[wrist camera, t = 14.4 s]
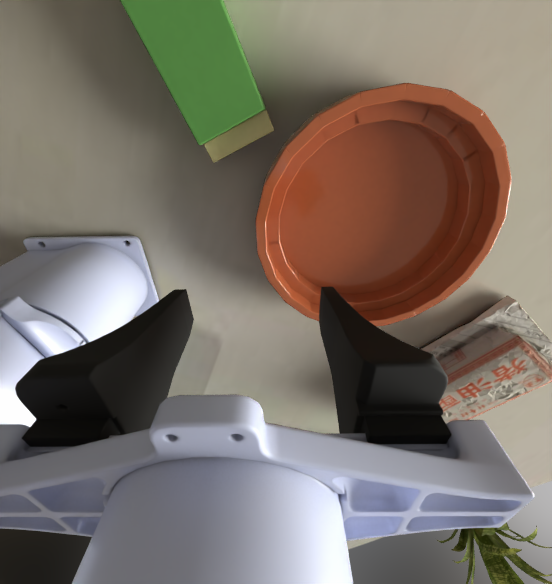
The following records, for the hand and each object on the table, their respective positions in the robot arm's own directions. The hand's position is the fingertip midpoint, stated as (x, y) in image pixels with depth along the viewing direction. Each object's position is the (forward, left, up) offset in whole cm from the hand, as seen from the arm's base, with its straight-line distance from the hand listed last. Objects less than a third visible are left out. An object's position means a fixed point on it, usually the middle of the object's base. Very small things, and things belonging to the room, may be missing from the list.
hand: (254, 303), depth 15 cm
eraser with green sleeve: (-3, +12, -9) cm, 15 cm away
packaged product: (+20, -15, -9) cm, 27 cm away
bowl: (+8, +2, -9) cm, 12 cm away
